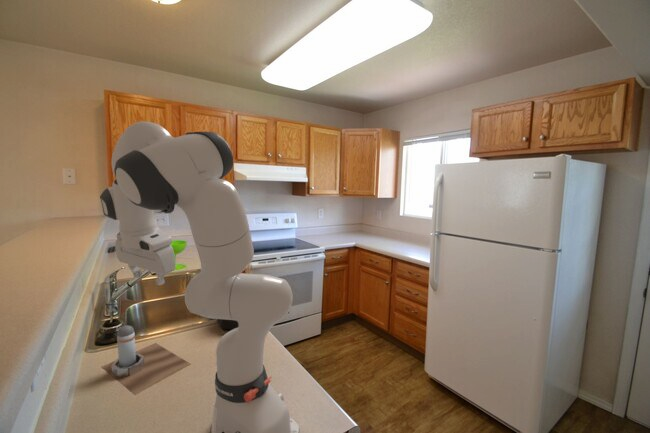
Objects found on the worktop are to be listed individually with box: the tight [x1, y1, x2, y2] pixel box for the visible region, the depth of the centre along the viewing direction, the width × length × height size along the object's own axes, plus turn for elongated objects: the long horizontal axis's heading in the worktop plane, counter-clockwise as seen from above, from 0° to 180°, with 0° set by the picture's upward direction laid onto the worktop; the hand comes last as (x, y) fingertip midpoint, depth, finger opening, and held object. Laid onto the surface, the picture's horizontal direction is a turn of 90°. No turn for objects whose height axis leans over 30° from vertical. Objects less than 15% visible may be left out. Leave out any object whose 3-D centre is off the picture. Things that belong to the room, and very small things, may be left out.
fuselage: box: [116, 324, 137, 368], centre depth 93 cm, size 5×5×14 cm
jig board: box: [101, 342, 191, 396], centre depth 96 cm, size 22×17×1 cm
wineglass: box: [169, 239, 188, 270], centre depth 200 cm, size 16×16×18 cm
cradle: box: [112, 353, 145, 377], centre depth 94 cm, size 8×8×2 cm
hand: (149, 280), depth 86 cm, fingers open, 8 cm apart
